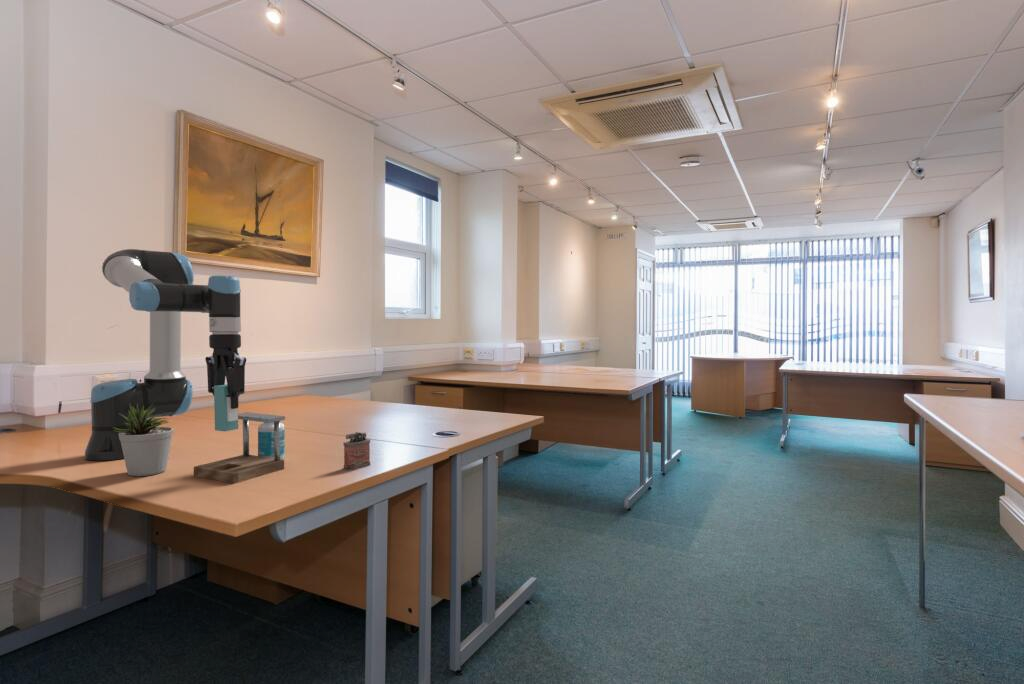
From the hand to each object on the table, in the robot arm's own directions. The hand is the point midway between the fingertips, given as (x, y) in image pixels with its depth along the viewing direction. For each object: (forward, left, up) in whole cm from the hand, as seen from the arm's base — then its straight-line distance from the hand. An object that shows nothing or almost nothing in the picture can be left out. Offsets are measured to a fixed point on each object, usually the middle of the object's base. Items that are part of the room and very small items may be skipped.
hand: (226, 419), depth 145 cm
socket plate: (0, +4, -15) cm, 16 cm away
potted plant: (-23, -8, -16) cm, 29 cm away
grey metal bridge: (0, +10, -15) cm, 18 cm away
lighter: (+25, +23, -16) cm, 37 cm away
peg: (0, 0, -3) cm, 3 cm away
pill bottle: (-3, +17, -16) cm, 23 cm away
